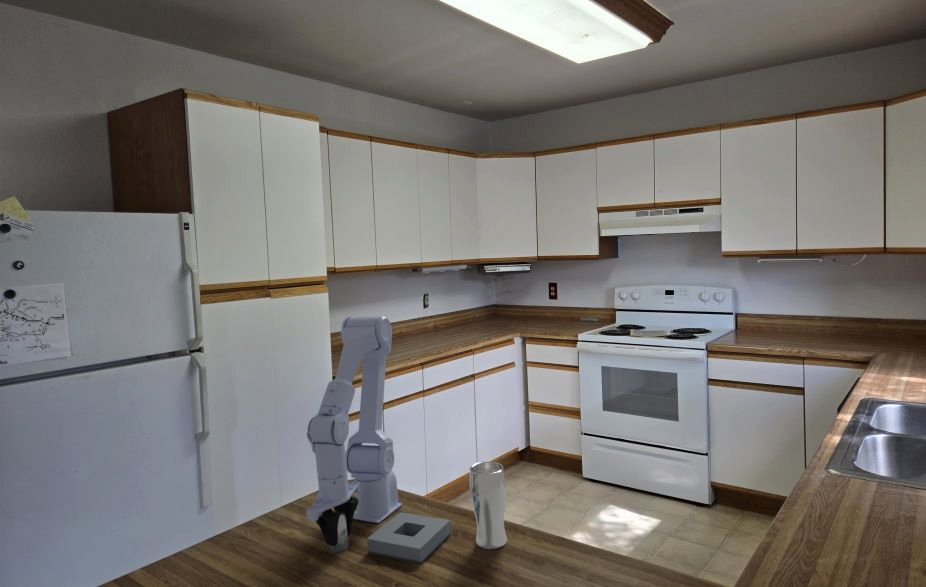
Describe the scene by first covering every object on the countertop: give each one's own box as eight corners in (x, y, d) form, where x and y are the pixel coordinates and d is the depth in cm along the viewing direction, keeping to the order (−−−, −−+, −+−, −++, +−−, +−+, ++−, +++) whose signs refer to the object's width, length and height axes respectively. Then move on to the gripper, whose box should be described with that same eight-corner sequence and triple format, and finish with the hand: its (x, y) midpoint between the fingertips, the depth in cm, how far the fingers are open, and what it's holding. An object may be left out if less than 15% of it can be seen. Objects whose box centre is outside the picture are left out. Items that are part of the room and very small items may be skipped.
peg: (337, 541, 127) (334, 508, 126) (352, 544, 126) (349, 511, 125) (326, 550, 124) (323, 516, 123) (341, 553, 122) (337, 519, 122)
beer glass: (515, 544, 121) (510, 469, 119) (482, 553, 118) (476, 477, 117) (500, 529, 127) (495, 458, 126) (468, 538, 125) (463, 465, 123)
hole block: (401, 525, 132) (400, 512, 132) (451, 534, 127) (450, 520, 126) (368, 553, 122) (366, 538, 121) (421, 564, 116) (419, 548, 116)
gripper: (339, 459, 132) (345, 520, 133) (291, 486, 119) (298, 554, 120) (366, 462, 128) (372, 525, 130) (320, 490, 115) (327, 560, 117)
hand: (338, 539), depth 125 cm, fingers closed on peg, 4 cm apart
